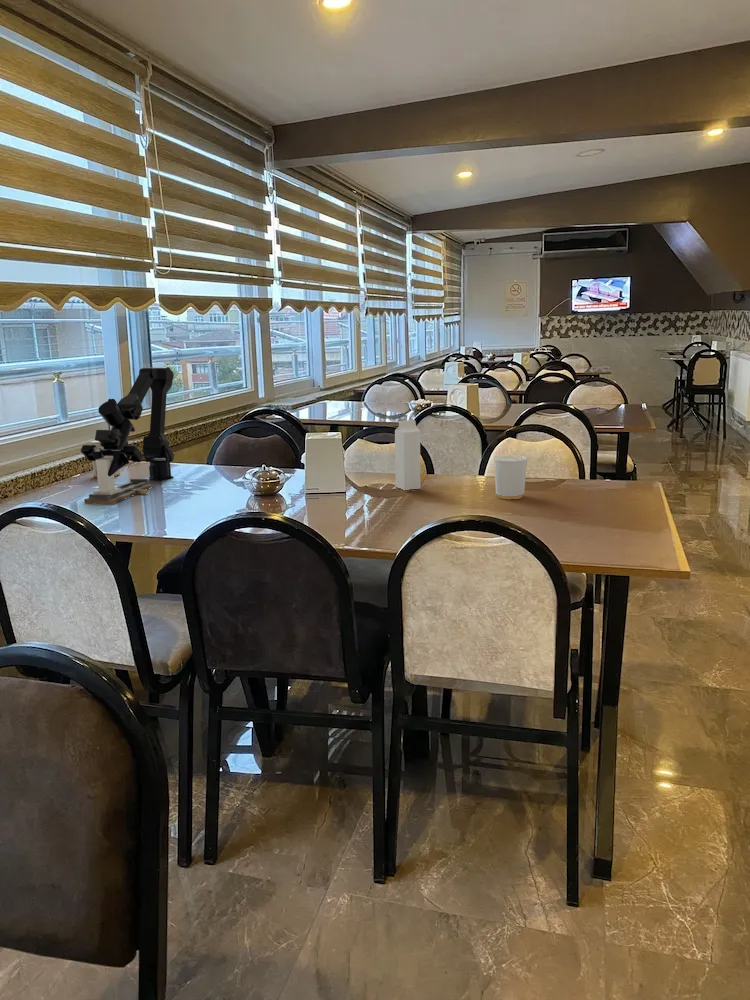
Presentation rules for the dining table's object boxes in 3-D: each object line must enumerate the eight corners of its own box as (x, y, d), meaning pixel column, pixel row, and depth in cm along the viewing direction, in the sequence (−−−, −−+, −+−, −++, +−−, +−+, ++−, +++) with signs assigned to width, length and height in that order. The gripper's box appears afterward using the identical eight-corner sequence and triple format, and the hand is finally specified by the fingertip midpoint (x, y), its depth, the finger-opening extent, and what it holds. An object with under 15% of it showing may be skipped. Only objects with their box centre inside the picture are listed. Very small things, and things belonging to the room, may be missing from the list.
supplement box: (120, 475, 278) (117, 439, 275) (115, 477, 274) (111, 441, 271) (99, 475, 279) (95, 439, 276) (93, 477, 275) (89, 441, 272)
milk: (395, 488, 246) (394, 420, 241) (411, 486, 249) (410, 419, 244) (404, 491, 241) (403, 422, 236) (421, 489, 243) (420, 420, 238)
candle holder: (494, 493, 236) (494, 454, 234) (526, 493, 234) (527, 455, 232) (492, 500, 227) (493, 460, 224) (526, 501, 225) (527, 461, 222)
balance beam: (118, 486, 258) (118, 478, 258) (161, 487, 255) (161, 479, 254) (75, 503, 235) (74, 494, 234) (122, 504, 231) (121, 495, 230)
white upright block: (104, 493, 241) (100, 457, 239) (121, 494, 240) (117, 457, 237) (93, 497, 236) (89, 460, 233) (111, 498, 234) (107, 460, 232)
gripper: (80, 419, 238) (62, 460, 230) (134, 419, 234) (118, 461, 226) (97, 440, 247) (81, 480, 239) (149, 441, 243) (134, 481, 235)
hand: (103, 475), depth 235 cm, fingers closed on white upright block, 4 cm apart
